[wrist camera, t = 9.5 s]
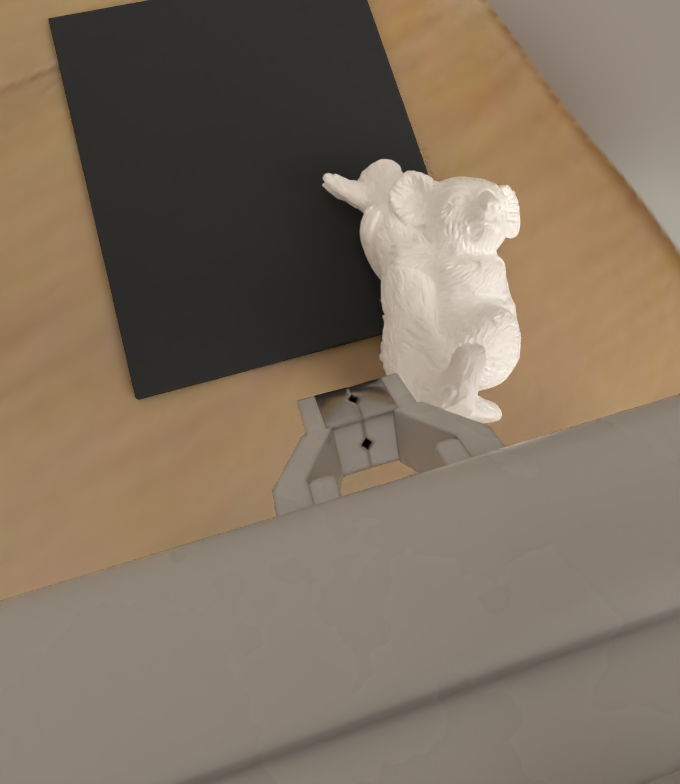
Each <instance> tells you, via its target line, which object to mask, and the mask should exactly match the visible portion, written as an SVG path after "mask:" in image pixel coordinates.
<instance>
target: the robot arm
mask: <svg viewBox="0 0 680 784" xmlns="http://www.w3.org/2000/svg"><path fill="white" fill-rule="evenodd" d="M297 404H298V408H299V412H300V416H301V420H302V423H303V427H304V431H305V435H303V436H302V437H301V439H300V441H299V443H298V445H297V446H296V448H295V450H294V452H293V454H292V455H291V457H290V459H289V461H288V463H287V464H286V466H285V468H284V470H283V472H282V473H281V475H280V477H279V479H278V481H277V482H276V484H275V486H274V488H273V490H272V493H273V499H274V504H275V509H276V515H277V517H273V518H270V519H267V520H263V521H260V522H257V523H254V524H250V525H247V526H244V527H240V528H237V529H234V530H231V531H227V532H224V533H221V534H217V535H214V536H211V537H208V538H204V539H201V540H198V541H194V542H191V543H188V544H185V545H181V546H178V547H175V548H171V549H168V550H165V551H162V552H158V553H155V554H152V555H148V556H145V557H142V558H139V559H135V560H132V561H129V562H125V563H122V564H119V565H116V566H112V567H109V568H106V569H102V570H99V571H96V572H93V573H89V574H86V575H83V576H79V577H76V578H73V579H70V580H66V581H63V582H60V583H56V584H53V585H50V586H47V587H43V588H40V589H37V590H33V591H30V592H27V593H24V594H20V595H17V596H14V597H10V598H7V599H4V600H1V601H0V784H680V394H678V395H675V396H671V397H668V398H665V399H662V400H658V401H655V402H652V403H648V404H645V405H642V406H638V407H635V408H632V409H629V410H625V411H622V412H619V413H615V414H612V415H609V416H605V417H602V418H599V419H596V420H592V421H589V422H586V423H582V424H579V425H576V426H572V427H569V428H566V429H563V430H559V431H556V432H553V433H549V434H546V435H543V436H540V437H536V438H533V439H530V440H526V441H523V442H520V443H517V444H513V445H510V446H507V447H506V446H505V445H504V444H503V442H502V441H501V440H500V439H499V438H498V436H497V435H496V434H495V433H494V431H493V430H492V429H491V428H490V426H488V425H485V424H482V423H479V422H477V421H474V420H471V419H468V418H466V417H463V416H460V415H457V414H455V413H452V412H449V411H446V410H444V409H441V408H438V407H436V406H433V405H430V404H427V403H425V402H422V401H421V402H418V403H417V402H416V400H415V399H414V397H413V396H412V394H411V393H410V391H409V390H408V388H407V387H406V385H405V384H404V382H403V381H402V379H401V378H400V376H399V375H398V374H397V373H393V374H390V375H387V376H384V377H381V378H379V379H375V380H372V381H369V382H365V383H362V384H358V385H355V386H351V387H348V388H343V389H339V390H335V391H331V392H327V393H323V394H320V395H316V396H312V397H308V398H305V399H301V400H298V401H297ZM397 460H400V461H401V462H402V463H404V464H405V465H407V466H409V467H410V468H412V469H413V470H415V471H417V472H418V474H415V475H411V476H408V477H405V478H402V479H398V480H395V481H392V482H388V483H385V484H382V485H379V486H375V487H372V488H369V489H365V490H362V491H359V492H356V493H352V494H349V495H346V496H342V497H341V494H340V491H339V490H340V487H341V484H342V481H343V477H344V476H347V475H350V474H353V473H356V472H359V471H362V470H365V469H368V468H372V467H375V466H379V465H383V464H386V463H390V462H394V461H397Z"/></svg>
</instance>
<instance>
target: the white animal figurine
mask: <svg viewBox="0 0 680 784" xmlns="http://www.w3.org/2000/svg"><path fill="white" fill-rule="evenodd" d="M323 180H324V183H323V184H322V186H323V187H324V188H325V189H326V190H327V191H328V192H329V193H331V194H332V195H333V196H335V197H336V198H337V199H340V200H343V201H346V202H347V203H348V204H350V205H351V206H353V207H355V208H357V209H359V210H360V211H362V212H363V213H364V215H363V217H362V220H361V224H360V240H361V244H362V247H363V249H364V253H365V255H366V257H367V260H368V262H369V263H370V265H371V267H372V269H373V270H374V272H375V274H376V275H377V276H378V277H379V279H380V280H381V303H382V309H383V312H384V315H383V320H384V328H383V335H382V340H383V341H382V342H381V344H380V345H381V348H380V350H381V352H382V353H380V355H379V359H380V361H382V363H384V364H383V369H384V370H385V372H386V376H387V375H390V374H393V373H397V374H398V375H399V376H400V378H401V379H402V381H403V382H404V384H405V385H406V387H407V388H408V390H409V391H410V393H411V394H412V396H413V397H414V399H415V400H416V402H417V403H418V402H421V401H422V402H425V403H427V404H430V405H433V406H436V407H438V408H441V409H444V410H446V411H449V412H452V413H455V414H457V415H460V416H463V417H466V418H468V419H471V420H474V421H477V422H479V423H488V422H495V421H498V420H500V419H501V416H502V413H501V410H500V408H499V407H498V406H497V404H495V403H494V402H492V401H488V400H486V399H483V398H482V397H480V396H478V391H480V390H484V389H489V388H491V387H494V386H497V385H499V384H501V383H502V382H503V381H505V379H507V378H508V376H509V374H510V373H511V372H512V371H513V368H514V367H515V365H516V363H517V362H518V360H519V358H520V348H521V346H520V341H521V337H520V336H521V333H520V330H519V326H518V322H517V318H516V310H515V304H514V301H513V300H512V298H511V294H510V291H509V288H508V281H507V279H506V269H505V263H504V261H503V260H502V259H501V258H500V257H499V256H497V251H496V250H497V249H498V248H499V246H500V245H501V244H502V242H503V241H504V239H505V237H506V238H510V239H512V238H513V237H515V236H516V235H517V234H518V232H519V230H520V223H521V222H520V212H519V208H520V207H519V205H518V203H519V202H518V199H517V198H516V196H515V191H512V190H511V188H510V187H509V186H508V185H500V186H497V184H495V183H494V182H489V181H488V180H486V179H480V178H471V177H453V178H449V179H445V180H444V181H440V182H438V181H434V180H433V179H432V178H431V177H430V176H428V175H425V174H423V173H422V172H416V171H406V172H405V173H403V172H402V171H401V167H400V165H398V164H397V163H396V162H394V161H393V160H388V159H380V160H378V161H376V162H374V163H372V164H371V165H370V166H369V167H368V168H366V169H365V170H364V171H362V173H361V175H360V178H359V179H358V181H356V180H348V179H347V178H344V177H342V176H340V175H338V174H334V175H333V174H331V173H326V174H325V175H324V176H323Z"/></svg>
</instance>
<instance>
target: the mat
mask: <svg viewBox="0 0 680 784" xmlns="http://www.w3.org/2000/svg"><path fill="white" fill-rule="evenodd" d="M49 24H50V28H51V32H52V37H53V41H54V45H55V50H56V54H57V58H58V63H59V67H60V72H61V76H62V80H63V85H64V89H65V93H66V98H67V102H68V106H69V111H70V115H71V119H72V124H73V128H74V132H75V137H76V141H77V145H78V150H79V154H80V158H81V163H82V167H83V172H84V176H85V180H86V185H87V189H88V193H89V198H90V202H91V206H92V211H93V215H94V219H95V224H96V228H97V232H98V237H99V241H100V245H101V250H102V254H103V259H104V263H105V267H106V272H107V276H108V280H109V285H110V289H111V293H112V298H113V302H114V306H115V311H116V315H117V319H118V324H119V328H120V332H121V337H122V341H123V346H124V350H125V354H126V359H127V363H128V367H129V372H130V376H131V380H132V385H133V389H134V393H135V398H136V399H143V398H147V397H151V396H154V395H158V394H162V393H166V392H169V391H173V390H177V389H180V388H184V387H188V386H192V385H195V384H199V383H203V382H207V381H210V380H214V379H218V378H221V377H225V376H229V375H233V374H236V373H240V372H244V371H248V370H251V369H255V368H259V367H262V366H266V365H270V364H274V363H277V362H281V361H285V360H289V359H292V358H296V357H300V356H304V355H307V354H311V353H315V352H318V351H322V350H326V349H330V348H333V347H337V346H341V345H345V344H348V343H352V342H356V341H359V340H363V339H367V338H371V337H374V336H378V335H382V334H383V328H384V320H383V315H384V312H383V309H382V303H381V280H380V279H379V277H378V276H377V275H376V274H375V272H374V270H373V269H372V267H371V265H370V263H369V262H368V260H367V257H366V255H365V253H364V249H363V247H362V244H361V240H360V224H361V220H362V217H363V215H364V213H363V212H362V211H360V210H359V209H357V208H355V207H353V206H351V205H350V204H348V203H347V202H346V201H343V200H340V199H337V198H336V197H335V196H333V195H332V194H331V193H329V192H328V191H327V190H326V189H325V188H324V187H323V186H322V184H323V183H324V180H323V176H324V175H325V174H326V173H331V174H333V175H334V174H338V175H340V176H342V177H344V178H347V179H348V180H356V181H358V179H359V178H360V175H361V173H362V171H364V170H365V169H366V168H368V167H369V166H370V165H371V164H372V163H374V162H376V161H378V160H380V159H388V160H393V161H394V162H396V163H397V164H398V165H400V167H401V171H402V172H403V173H405V172H406V171H416V172H422V173H423V174H425V175H428V173H427V170H426V167H425V164H424V161H423V158H422V156H421V153H420V150H419V147H418V144H417V141H416V138H415V136H414V133H413V130H412V127H411V124H410V121H409V118H408V116H407V113H406V110H405V107H404V104H403V101H402V98H401V96H400V93H399V90H398V87H397V84H396V81H395V79H394V76H393V73H392V70H391V67H390V64H389V61H388V59H387V56H386V53H385V50H384V47H383V44H382V41H381V39H380V36H379V33H378V30H377V27H376V24H375V21H374V19H373V16H372V13H371V10H370V7H369V4H368V2H367V0H148V1H142V2H137V3H131V4H126V5H120V6H115V7H109V8H104V9H99V10H93V11H88V12H82V13H77V14H71V15H66V16H60V17H55V18H49ZM428 176H429V175H428Z"/></svg>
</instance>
